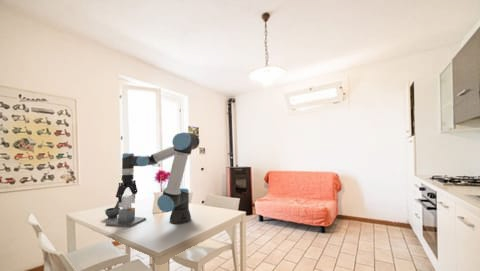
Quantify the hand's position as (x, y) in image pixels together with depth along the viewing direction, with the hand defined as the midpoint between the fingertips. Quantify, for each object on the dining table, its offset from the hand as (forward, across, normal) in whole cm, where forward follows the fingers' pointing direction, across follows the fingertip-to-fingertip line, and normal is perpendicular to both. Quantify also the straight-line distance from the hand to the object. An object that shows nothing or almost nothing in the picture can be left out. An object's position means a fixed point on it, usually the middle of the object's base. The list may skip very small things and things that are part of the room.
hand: (127, 204), depth 153 cm
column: (+11, 0, 0) cm, 11 cm away
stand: (+12, 0, 0) cm, 12 cm away
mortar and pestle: (+13, -7, -18) cm, 23 cm away
